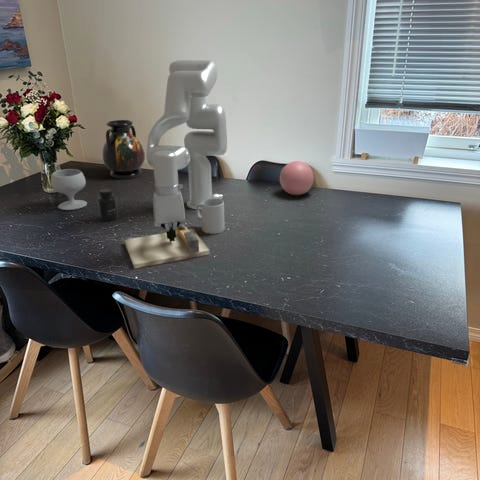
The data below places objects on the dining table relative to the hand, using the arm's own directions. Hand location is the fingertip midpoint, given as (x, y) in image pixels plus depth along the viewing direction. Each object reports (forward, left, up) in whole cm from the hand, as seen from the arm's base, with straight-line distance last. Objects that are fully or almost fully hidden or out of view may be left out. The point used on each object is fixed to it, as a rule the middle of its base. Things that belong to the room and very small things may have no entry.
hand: (171, 239), depth 148 cm
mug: (-17, -10, -3) cm, 20 cm away
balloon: (-68, -33, -3) cm, 76 cm away
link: (-5, -1, -1) cm, 5 cm away
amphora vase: (+1, -96, -3) cm, 96 cm away
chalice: (+30, -58, -3) cm, 65 cm away
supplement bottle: (+17, -36, -3) cm, 40 cm away
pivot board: (+2, +1, -3) cm, 4 cm away
